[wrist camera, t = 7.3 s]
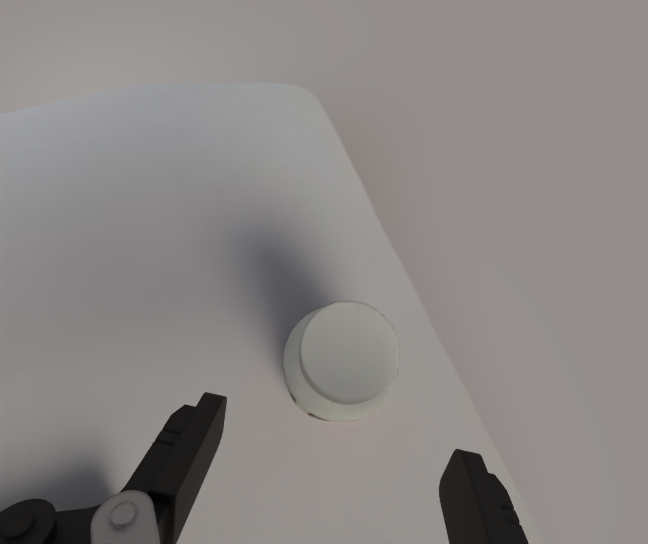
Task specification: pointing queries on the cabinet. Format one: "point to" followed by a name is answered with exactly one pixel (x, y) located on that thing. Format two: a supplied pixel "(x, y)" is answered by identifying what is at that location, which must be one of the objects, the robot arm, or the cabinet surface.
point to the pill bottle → (341, 361)
